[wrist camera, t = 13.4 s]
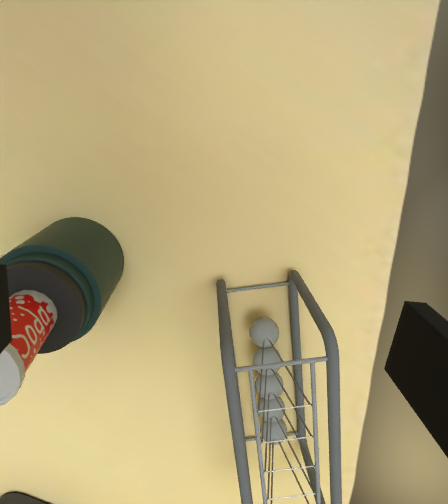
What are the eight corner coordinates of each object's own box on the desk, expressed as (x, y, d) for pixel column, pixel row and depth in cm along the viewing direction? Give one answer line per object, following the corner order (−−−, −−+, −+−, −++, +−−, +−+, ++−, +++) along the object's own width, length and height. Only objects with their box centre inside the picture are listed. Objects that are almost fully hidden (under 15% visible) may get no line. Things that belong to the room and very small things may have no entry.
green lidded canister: (51, 202, 45) (-12, 235, 32) (137, 240, 47) (110, 286, 34) (24, 278, 48) (-45, 337, 35) (105, 311, 50) (69, 378, 37)
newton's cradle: (215, 274, 49) (220, 352, 32) (295, 264, 49) (340, 337, 32) (239, 449, 59) (252, 579, 42) (305, 441, 59) (344, 567, 42)
